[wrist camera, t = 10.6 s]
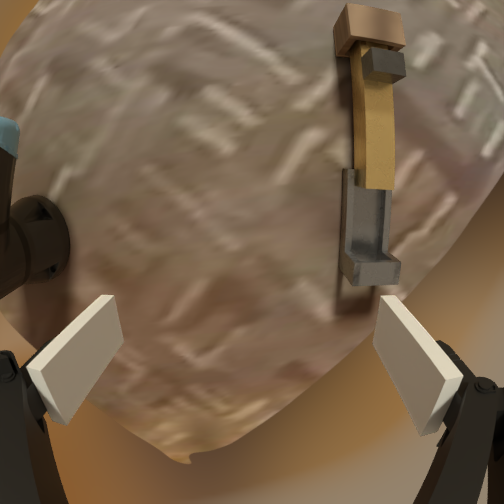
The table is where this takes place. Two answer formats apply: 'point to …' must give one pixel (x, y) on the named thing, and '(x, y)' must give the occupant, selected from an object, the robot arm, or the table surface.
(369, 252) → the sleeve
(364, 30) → the socket
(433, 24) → the table surface
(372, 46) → the tan wooden bar
